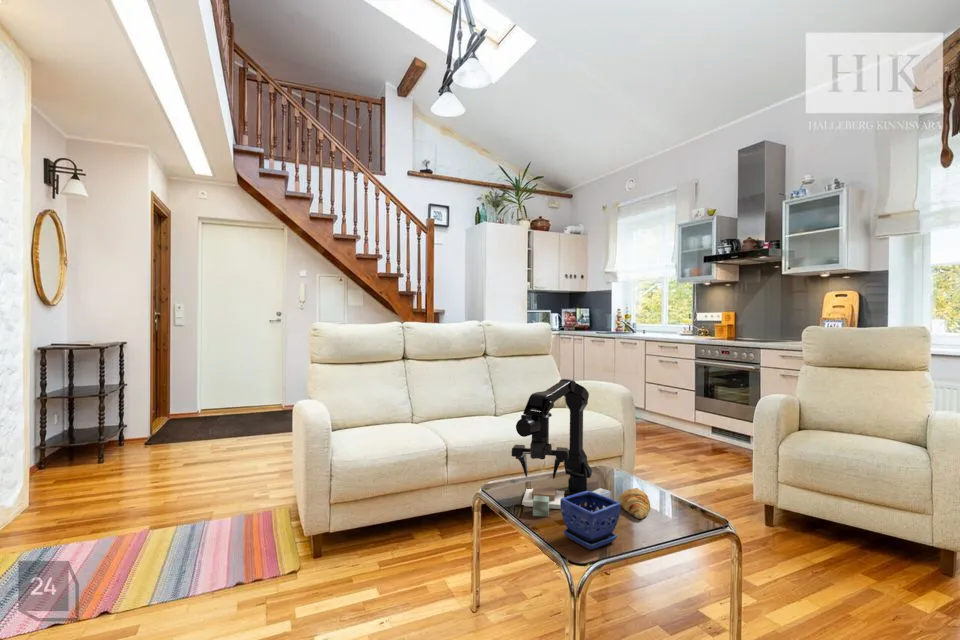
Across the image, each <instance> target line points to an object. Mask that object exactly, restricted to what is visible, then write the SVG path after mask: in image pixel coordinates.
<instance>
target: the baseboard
mask: <svg viewBox="0 0 960 640" xmlns="http://www.w3.org/2000/svg"><path fill="white" fill-rule="evenodd" d="M565 492H566V491H565V490H558V489H557V487H552V486H551V487H550V486H537V485H534V486H533V488H532V489H527V488H526V490H525V492H524V496H523V498H522V502H521V503H522V504H521V505H524V506H523V507H530V508H531V507H532V508H533V499H534V496H546V497H549V509H553V510H554V509H555V510H556V509H557V510H561V505H560V500H561V498H564V497H565V495H564V494H565Z"/></svg>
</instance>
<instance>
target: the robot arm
mask: <svg viewBox="0 0 960 640" xmlns="http://www.w3.org/2000/svg"><path fill="white" fill-rule="evenodd" d="M562 397H565V405H566V406H567V408H568V410H569V448H568V447H560V446H558V447H557V446H556V449H553V448H552V447H553V446H552V443H549V442H550V433H549V432H550V431H549V430H550V424H549V423H550V417H552V416H553V414H552V413H551V410H552V409H553V408H554V406H555V402H557V401H558V400H560V399H561V398H562ZM589 397H590V393H589V391H588V390H587V388H585V387H584V386H582V385H581V384H578V383H577V382H576V381H575V380H574V379H568V378H561V379H560V380H559V382H557V383H555V384H554V385H552V386H551V387H549V388H547V389H546V390H544V391H537V392H533V393H532V394H530V396H529V398H528V400H527V402H526V405H525V408H524V410H523V413H522V415H521V416H520V419H519V420H518V421H517V422H516V424H515V430H516V432H517V434H518V435H519V436H520V437H523V438H525V437H529V436H531V441H530V447H529V448H528V447H526V445H525V444H514V445H513V447H512V448H511V457H514V458H515V459H516V460H518V461H519V463H520V465H521V467H522V470H523V473H524V476H525V477H526V478H527V477H528V461H527V455H530V456H529V457H530V459H532V460H535V459H538V460H539V459H540V460H545V459H546V456H551V457H552V456H553V457H554V456H555V458H554V464H553V465H554V466H553V471H552V472H553V474H552V480H554V479H555V478H556V474H557V471H558V469H559V466H560V465H561V463H563V466H564V472H565V475H569V477H568V482H567V483H568V485H567V487H568V491H569V494H572V495H574V494H577V493H580V492H584V491H588V479H590V478H591V477H592V473H593V469H592V468H591V466H590V465H589V463H588V456H587V454H586V452H585V451H584V442H583V441H584V411H585V409H586V408H587V405H588V403H589Z"/></svg>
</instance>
